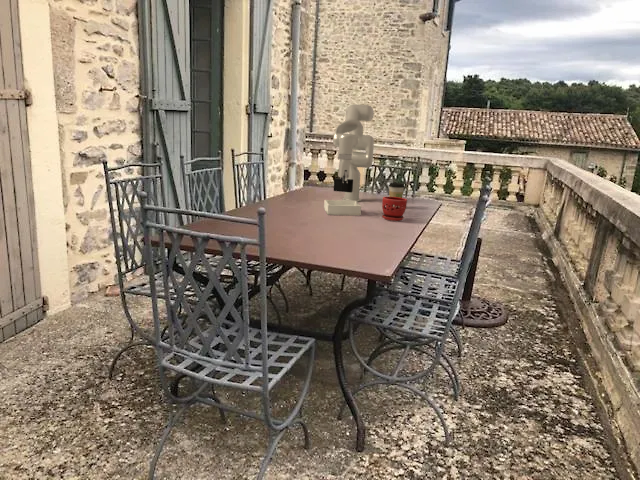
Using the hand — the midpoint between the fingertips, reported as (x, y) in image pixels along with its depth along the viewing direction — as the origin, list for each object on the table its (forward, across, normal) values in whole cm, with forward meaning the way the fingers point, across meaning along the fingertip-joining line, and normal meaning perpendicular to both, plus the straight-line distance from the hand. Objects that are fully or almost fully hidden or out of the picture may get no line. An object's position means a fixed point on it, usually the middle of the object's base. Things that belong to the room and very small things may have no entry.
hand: (343, 188), depth 274 cm
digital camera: (+2, 0, 0) cm, 2 cm away
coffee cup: (+14, -21, +37) cm, 45 cm away
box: (+14, 0, 0) cm, 14 cm away
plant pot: (+14, +16, +26) cm, 33 cm away
